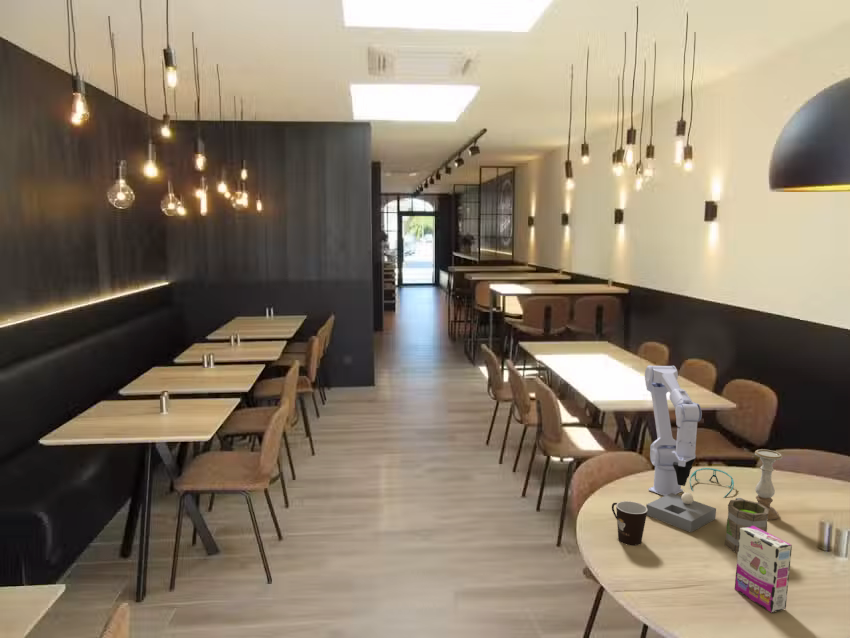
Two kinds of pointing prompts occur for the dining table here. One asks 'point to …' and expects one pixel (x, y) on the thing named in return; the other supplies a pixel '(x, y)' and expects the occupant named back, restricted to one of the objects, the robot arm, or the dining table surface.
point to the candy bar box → (763, 568)
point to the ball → (687, 498)
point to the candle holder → (767, 480)
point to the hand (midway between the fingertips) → (683, 481)
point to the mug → (744, 519)
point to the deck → (681, 512)
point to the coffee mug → (630, 521)
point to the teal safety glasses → (713, 476)
